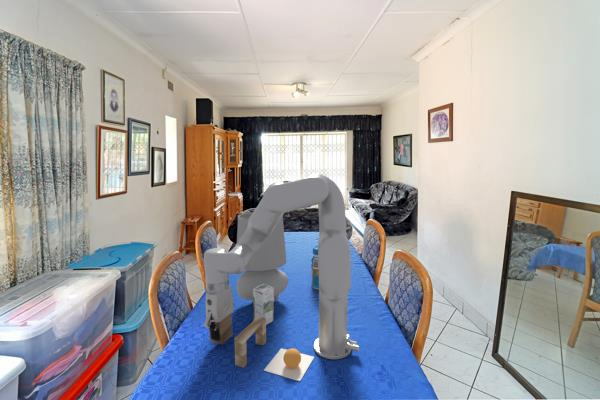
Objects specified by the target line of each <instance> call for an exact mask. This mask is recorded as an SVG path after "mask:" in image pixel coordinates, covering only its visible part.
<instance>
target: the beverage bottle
mask: <svg viewBox="0 0 600 400" xmlns="http://www.w3.org/2000/svg"><path fill="white" fill-rule="evenodd" d="M312 254H313V256H312V257H311V260H310V262H311V264H310V268H311V282H310V283H311V287H312V289H315V290H319V265H318V245H315V246H313V247H312Z"/></svg>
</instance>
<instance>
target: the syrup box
mask: <svg viewBox="0 0 600 400" xmlns="http://www.w3.org/2000/svg"><path fill="white" fill-rule="evenodd" d="M274 302H275V300H274V288H273V287H271V286H269V285H267V284H262V285H259V286H257V287H255V288H253V302H252V303H253V304H252V305H253V306H252V307H253V314H252V315H253V321H254V320H255V319H256V318H257V317H258V316H259V317H263V318H266V326H268V325H269V324H271V323H273V322H274V318H275V317H274V313H275V312H274V309H275V307H274V306H275V305H274Z"/></svg>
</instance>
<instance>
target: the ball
mask: <svg viewBox="0 0 600 400" xmlns="http://www.w3.org/2000/svg"><path fill="white" fill-rule="evenodd" d="M286 350H287V351H286V352H285V354H284V357H283V359H284V363H285V365H286V366H287V367H289V368H295V367H297V366H298V365H299V364H300V362H301V355H300V353H301V352H300V351H299V350H298V349H296V348H288V349H286Z"/></svg>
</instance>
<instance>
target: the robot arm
mask: <svg viewBox="0 0 600 400" xmlns="http://www.w3.org/2000/svg"><path fill="white" fill-rule="evenodd" d="M262 195H263V196H262V198H261V200H260V201H259V203H258V205H257V206H256V208H255V209H254V211H252V212H253V214H252V215H251V217H250V218H249V221H248V226H247V228H246V230H245V232H244V233H243V235H242V236H241V238H240V240H239V241H238V243H237V242H236V244H235V246H234V247H233V248H232V249H231V250H229V251H227V250H226V249H225V248H222V247H212V248H210V249H207V250H205V251H204V253H203V266H204V277H205V291H206V292H205V316H206V317H205V320H204V322H203V326H204V327H206V329H208V330H209V329H210V333H211V339H212V340H216V341H219V340H220V337H219V329H218V323H219V322H221V321H222V320H223V319H224V318H226V317H227V316H228V315H229V314H231V319H232V315H233V312H234V310H235V303H234V297H233V296H234V294H233V291H232V287H231V284H230V277H229V274H230V275H240V274H242V273H243V272H245V271H246V270H245V269H246V268H247V266H248V265H249V263H250V261H251V260H252V258H253V257H254V255H255V254H256V252H257V250H258V249H259V247H260V246H261V244H262V243H263V241H264V240H265V239H266V237H268V236H269V235H270V234H271V232H272V231H273V229H274V228H275V226H276V225H277V223H278V222H279V220H280V219H281V217H282V216H283V217H284V214H285V213H287V212H292V211H297V210H300V209H304V208H309V207H313V206H318V223H319V224H318V225H319V226H318V227H319V230H318V234H319V235H318V242H317V243H318V244H317V246H318V265H319V289H318V338H317V339H315V341H314V344H313V349H314V351H315V352H316V354H317V355H318V356H319V357H321V358H324V359H327V360H328V359H329V360H341V359H344V358H346V357H348V356H349V355H350V353H351V351H354V352H356V353H357V352H359V353H360V345H358V341H356V340H351V339H350V334H348V308H349V307H348V306H349V305H348V303H349V299H348V298H349V291H350V290H351V285H352V284H351V283H352V279H351V278H352V271H351V270H352V266H351V265H352V263H351V245H350V242H349V239H348V234H347V220H346V205H345V200H344V195H343V194H342V191H341V189H340V188H339V186H338V185H337V184H336V182H334V180H333V179H331V178H329V177H327V176H326V175H324V174H322V173H317V172H316V173H310V174H308V175H306V176H305V177H304V178H300V179H295V180H293V181H289V182H280V181H278V182H274V183H273V184H271V185H270V186H268V187H267V188H266V189H265V191H264V193H263V194H262ZM213 322H215V326H214V325H213ZM210 333H209V334H210Z"/></svg>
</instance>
